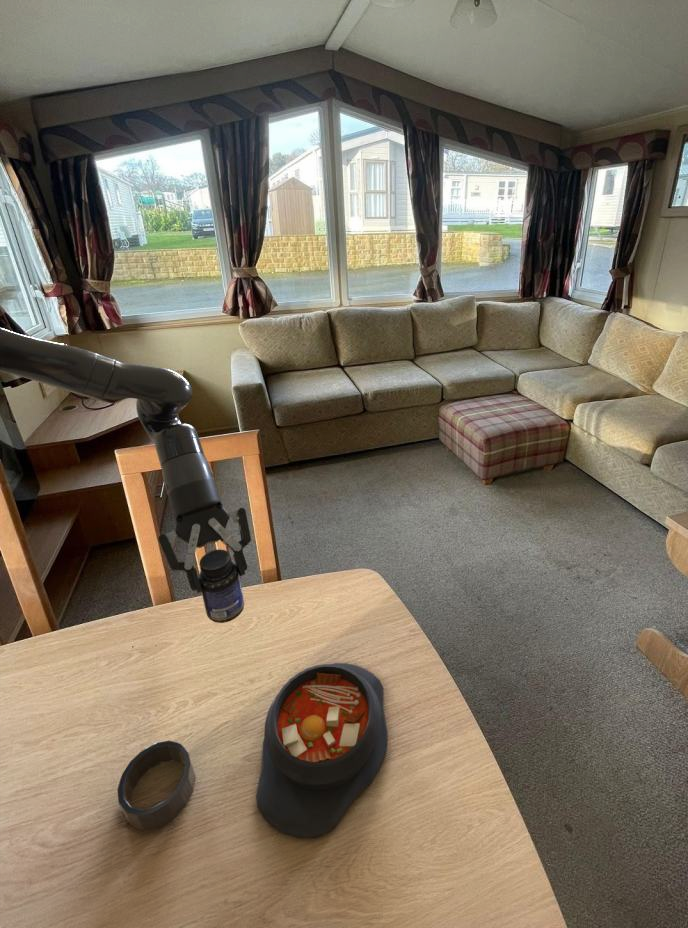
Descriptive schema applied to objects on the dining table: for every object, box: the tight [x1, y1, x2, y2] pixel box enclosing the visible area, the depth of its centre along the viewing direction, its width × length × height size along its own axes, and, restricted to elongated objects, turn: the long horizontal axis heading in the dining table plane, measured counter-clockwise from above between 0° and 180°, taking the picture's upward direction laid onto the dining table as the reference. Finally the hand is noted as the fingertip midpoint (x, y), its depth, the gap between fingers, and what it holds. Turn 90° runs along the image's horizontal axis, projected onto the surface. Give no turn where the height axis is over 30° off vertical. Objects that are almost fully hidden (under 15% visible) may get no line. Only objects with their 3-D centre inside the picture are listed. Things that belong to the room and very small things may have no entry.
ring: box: [117, 740, 196, 831], centre depth 66 cm, size 9×9×5 cm
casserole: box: [255, 662, 389, 839], centre depth 71 cm, size 25×19×8 cm
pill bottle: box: [198, 549, 245, 624], centre depth 78 cm, size 6×6×11 cm
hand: (221, 583), depth 76 cm, fingers closed on pill bottle, 6 cm apart
